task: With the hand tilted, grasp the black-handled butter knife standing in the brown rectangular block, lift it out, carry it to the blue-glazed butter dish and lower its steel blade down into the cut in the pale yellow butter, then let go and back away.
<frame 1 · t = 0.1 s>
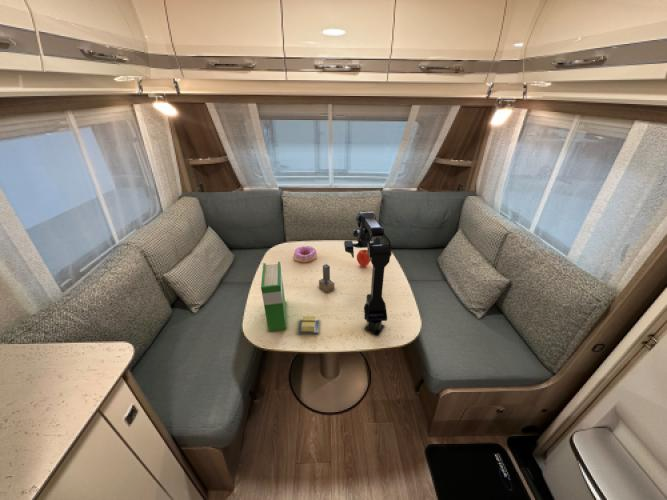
hand: (361, 257, 139), 15 cm above the table, tool pointing down, fingers open, 9 cm apart
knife: (326, 277, 138), in the brown rectangular block
brown rectangular block: (326, 287, 142), on the table
apple: (363, 266, 159), on the table
hardback book: (277, 316, 124), on the table
butter dish: (309, 327, 117), on the table
donut: (305, 257, 168), on the table
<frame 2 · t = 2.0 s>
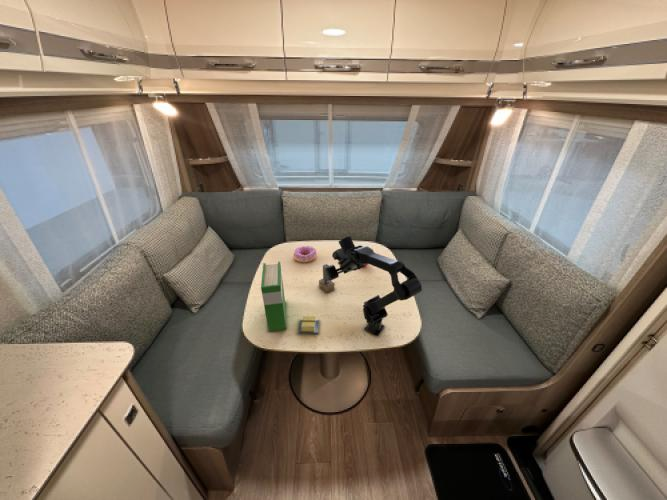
hand: (337, 272, 130), 14 cm above the table, tool tilted 40°, fingers open, 9 cm apart
nothing on the table moved.
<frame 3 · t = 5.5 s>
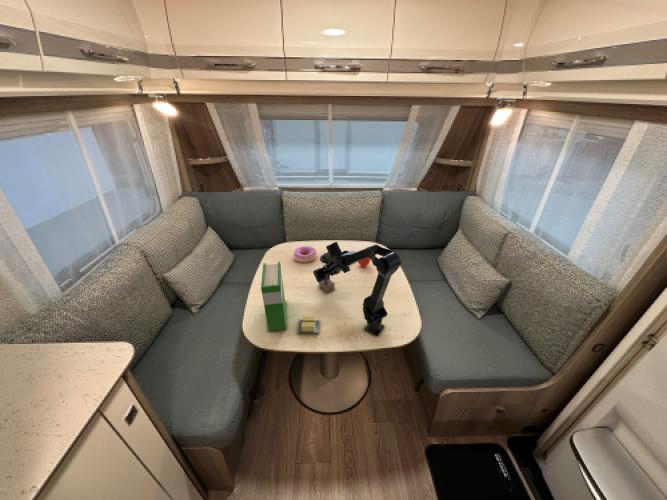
hand: (324, 274, 138), 8 cm above the table, tool tilted 45°, fingers closed on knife, 2 cm apart
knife: (326, 277, 138), in the brown rectangular block, touching gripper
everything else where it was.
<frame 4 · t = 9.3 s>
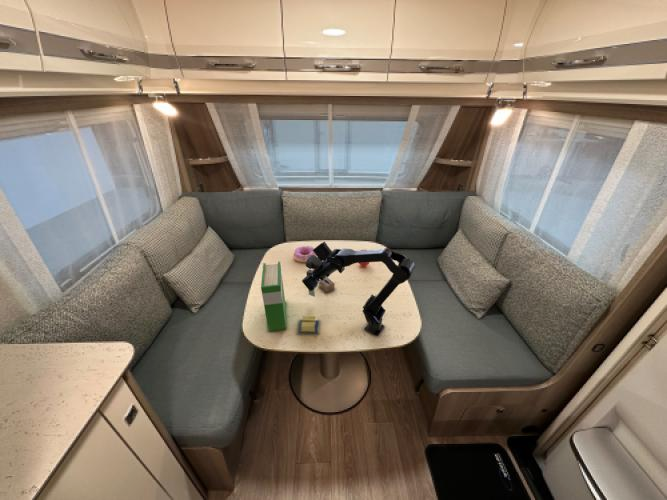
hand: (308, 281, 124), 14 cm above the table, tool tilted 45°, fingers closed on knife, 2 cm apart
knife: (311, 283, 124), point 13 cm above the table, touching gripper
everything else where it was.
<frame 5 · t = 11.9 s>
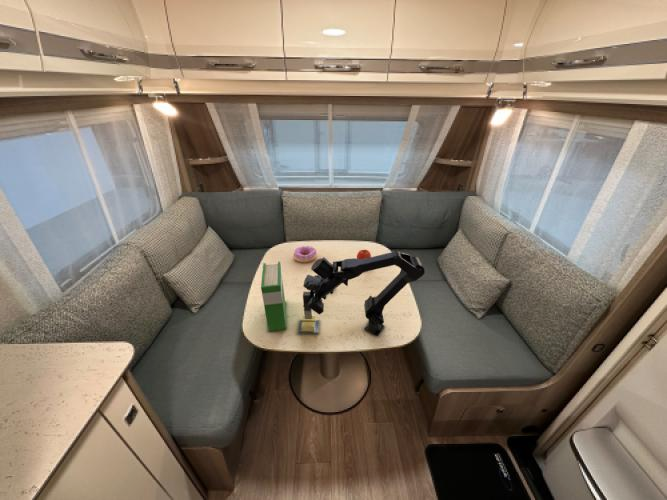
hand: (304, 304, 111), 13 cm above the table, tool tilted 45°, fingers closed on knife, 2 cm apart
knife: (307, 306, 111), point 12 cm above the table, touching gripper
everything else where it was.
when the fingers open (9 cm above the table, at t = 13.3 s): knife stays where it is, resting on butter dish.
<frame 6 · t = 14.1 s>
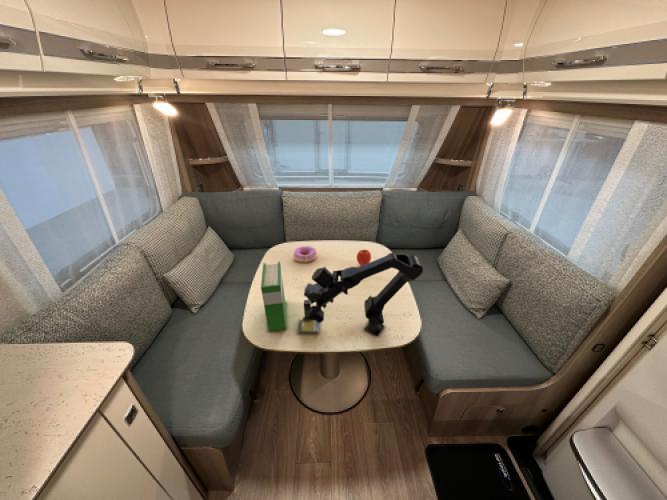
hand: (304, 312, 113), 9 cm above the table, tool tilted 45°, fingers open, 9 cm apart
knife: (308, 314, 114), point 8 cm above the table, touching butter dish
everything else where it was.
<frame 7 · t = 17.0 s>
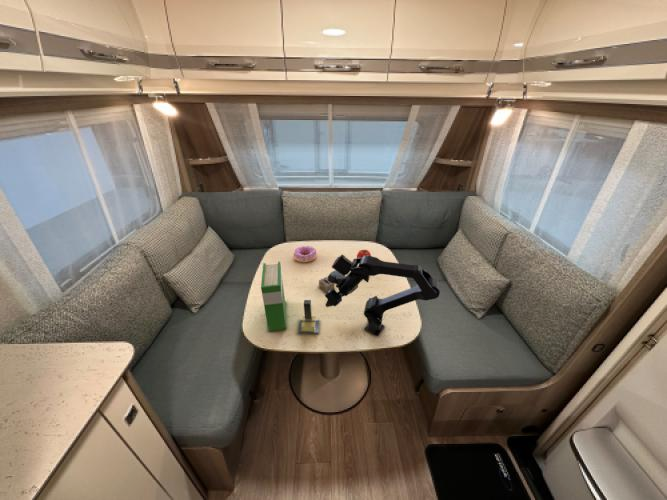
hand: (332, 301, 116), 11 cm above the table, tool tilted 35°, fingers open, 9 cm apart
nothing on the table moved.
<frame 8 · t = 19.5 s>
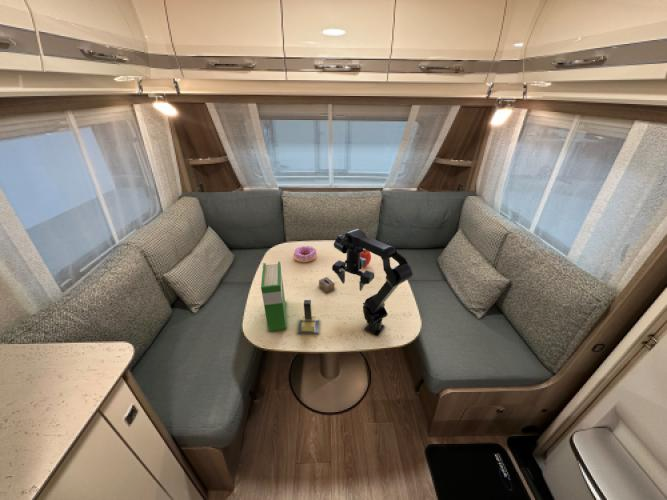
hand: (352, 286, 121), 13 cm above the table, tool pointing down, fingers open, 9 cm apart
nothing on the table moved.
at the end: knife 0.0 cm off-centre on the butter dish, point 7.8 cm above the butter dish's base; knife tilted 0°; the gripper is holding nothing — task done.
